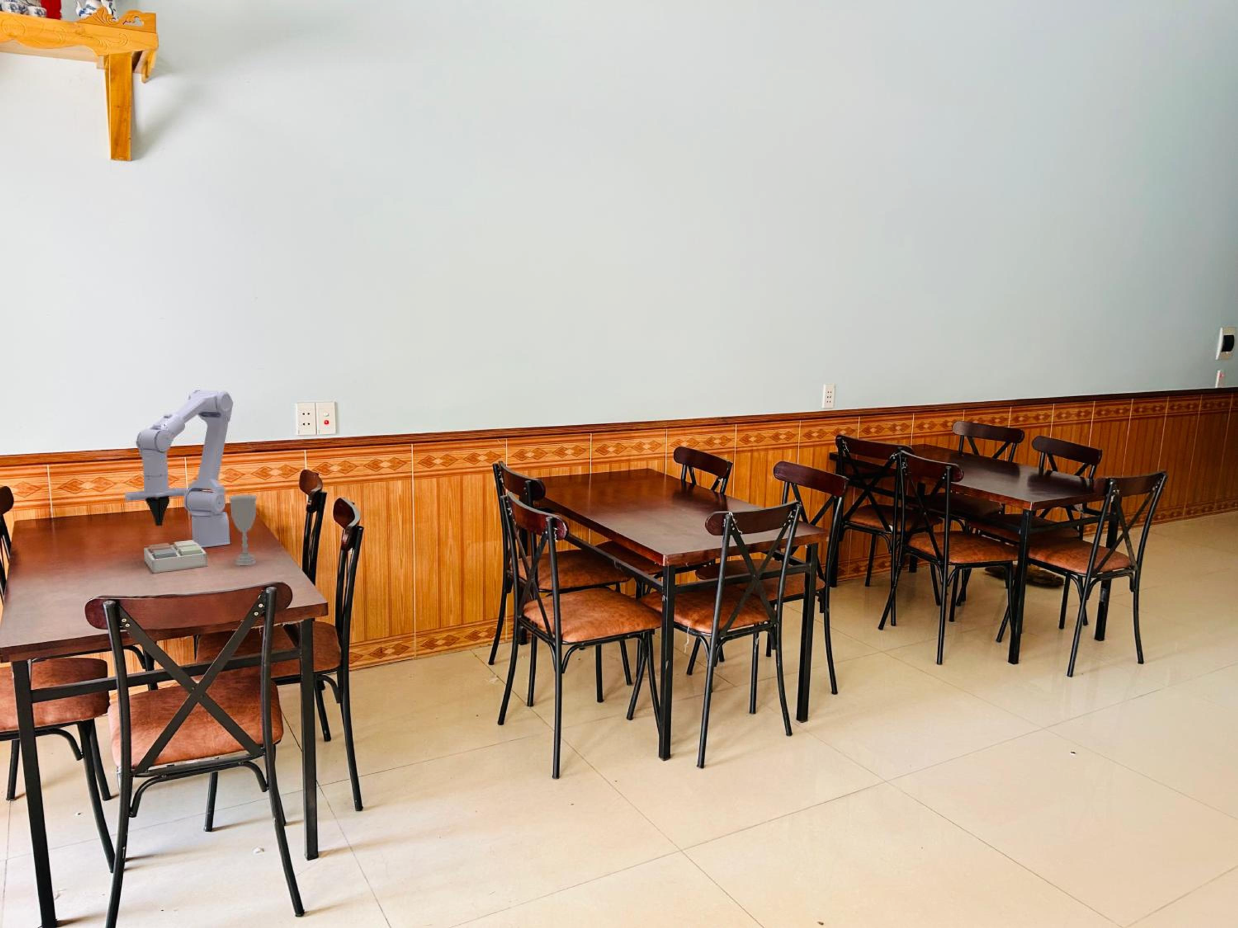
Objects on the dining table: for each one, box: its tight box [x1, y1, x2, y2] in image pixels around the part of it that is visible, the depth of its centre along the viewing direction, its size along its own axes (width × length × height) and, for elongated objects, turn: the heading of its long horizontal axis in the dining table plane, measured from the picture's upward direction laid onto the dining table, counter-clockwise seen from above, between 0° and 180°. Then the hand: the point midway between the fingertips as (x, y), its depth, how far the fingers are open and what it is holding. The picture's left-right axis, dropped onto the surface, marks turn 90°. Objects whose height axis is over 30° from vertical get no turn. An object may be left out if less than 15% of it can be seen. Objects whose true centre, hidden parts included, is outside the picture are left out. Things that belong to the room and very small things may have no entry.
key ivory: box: [173, 539, 196, 550], centre depth 243 cm, size 5×5×2 cm
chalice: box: [228, 494, 258, 566], centre depth 240 cm, size 7×7×18 cm
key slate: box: [153, 548, 176, 559], centre depth 235 cm, size 5×5×2 cm
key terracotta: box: [148, 542, 171, 553], centre depth 240 cm, size 5×5×2 cm
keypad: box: [143, 542, 208, 574], centre depth 239 cm, size 13×13×4 cm
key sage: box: [179, 545, 201, 556], centre depth 238 cm, size 5×5×2 cm
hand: (158, 525), depth 238 cm, fingers closed
